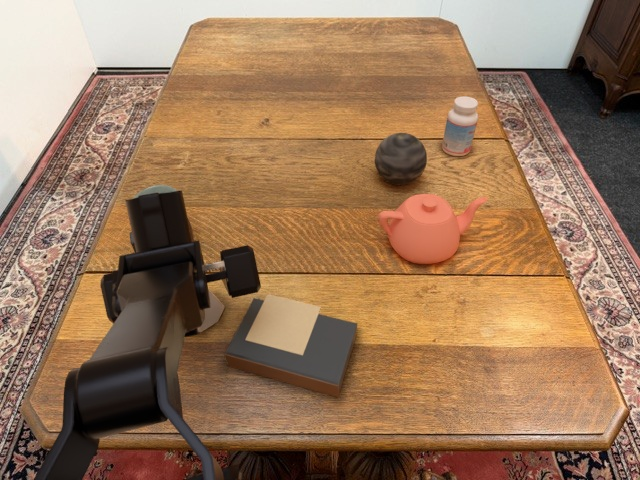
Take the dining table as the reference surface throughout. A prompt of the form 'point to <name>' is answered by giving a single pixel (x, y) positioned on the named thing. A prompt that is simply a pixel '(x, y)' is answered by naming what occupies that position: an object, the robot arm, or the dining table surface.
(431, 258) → the teapot
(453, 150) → the pill bottle
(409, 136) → the decorative stone
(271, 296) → the grey and beige box
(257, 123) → the dining table surface
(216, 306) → the octagonal bud vase
